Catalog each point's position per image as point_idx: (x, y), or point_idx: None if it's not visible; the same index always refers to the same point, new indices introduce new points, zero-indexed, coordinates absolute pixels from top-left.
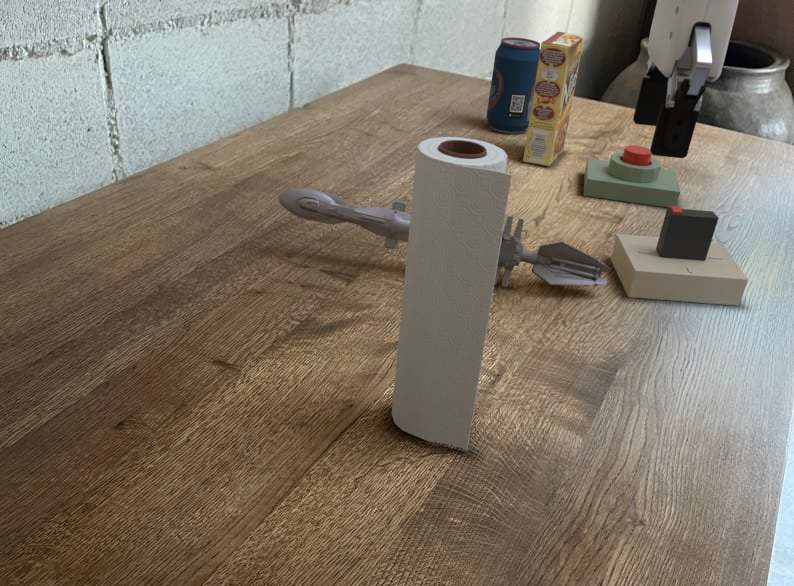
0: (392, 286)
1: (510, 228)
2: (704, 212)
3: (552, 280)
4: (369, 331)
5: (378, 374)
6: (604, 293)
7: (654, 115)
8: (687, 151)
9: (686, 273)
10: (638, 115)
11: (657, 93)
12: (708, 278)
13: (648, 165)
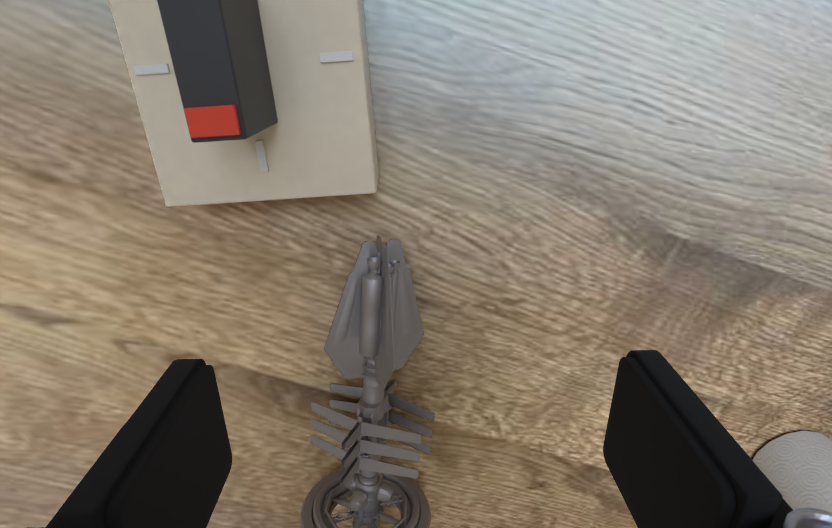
0: (433, 510)
1: (354, 448)
2: (180, 20)
3: (415, 334)
4: (572, 522)
5: None
6: (371, 222)
7: (205, 433)
8: (664, 361)
9: (358, 68)
10: (223, 482)
11: (170, 525)
12: (358, 7)
13: None
